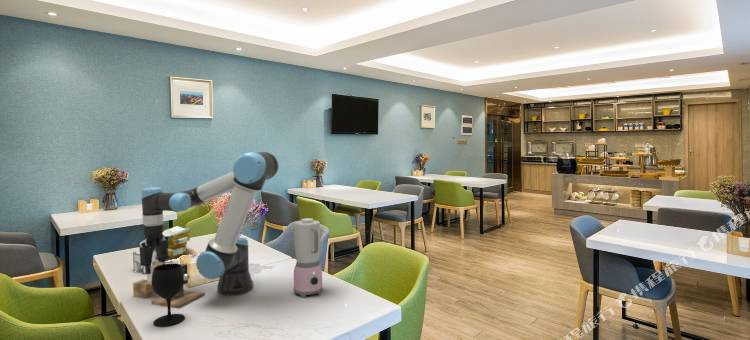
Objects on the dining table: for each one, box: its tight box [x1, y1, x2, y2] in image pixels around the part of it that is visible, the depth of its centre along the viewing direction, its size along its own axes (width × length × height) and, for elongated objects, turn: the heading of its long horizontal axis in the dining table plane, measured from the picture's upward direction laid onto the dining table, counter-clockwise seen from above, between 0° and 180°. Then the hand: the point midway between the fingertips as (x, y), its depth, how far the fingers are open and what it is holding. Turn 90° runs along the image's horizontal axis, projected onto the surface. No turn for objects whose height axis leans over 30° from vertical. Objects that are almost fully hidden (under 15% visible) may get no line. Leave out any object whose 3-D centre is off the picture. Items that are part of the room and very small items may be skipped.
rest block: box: [132, 278, 157, 299], centre depth 170 cm, size 7×5×6 cm
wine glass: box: [152, 262, 186, 328], centre depth 144 cm, size 10×10×20 cm
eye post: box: [174, 263, 189, 299], centre depth 164 cm, size 2×8×13 cm, turn 163°
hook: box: [147, 265, 191, 285], centre depth 165 cm, size 19×4×7 cm, turn 73°
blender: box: [293, 217, 323, 298], centre depth 170 cm, size 16×12×32 cm
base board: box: [151, 289, 206, 309], centre depth 164 cm, size 14×14×1 cm
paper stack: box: [162, 225, 197, 261], centre depth 229 cm, size 25×25×17 cm
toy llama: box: [132, 235, 159, 275], centre depth 202 cm, size 8×18×20 cm, turn 63°
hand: (155, 278), depth 168 cm, fingers closed on hook, 4 cm apart
